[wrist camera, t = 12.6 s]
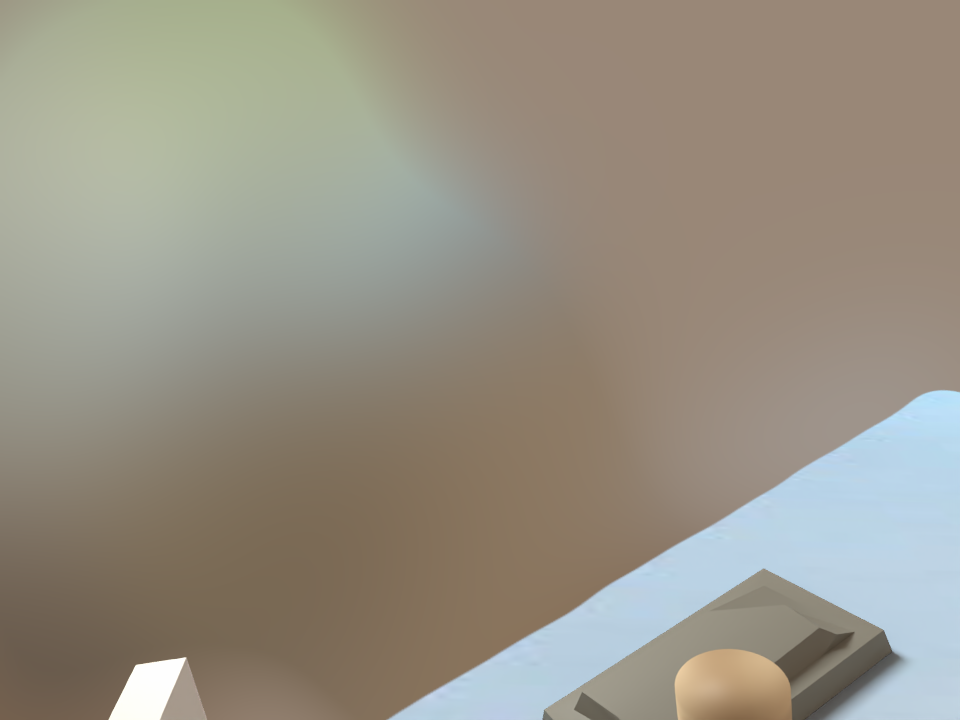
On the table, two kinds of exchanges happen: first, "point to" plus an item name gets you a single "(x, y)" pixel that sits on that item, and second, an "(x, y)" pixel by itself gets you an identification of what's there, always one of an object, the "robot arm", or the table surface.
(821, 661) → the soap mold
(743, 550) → the table surface
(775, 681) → the oak leg
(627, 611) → the table surface
